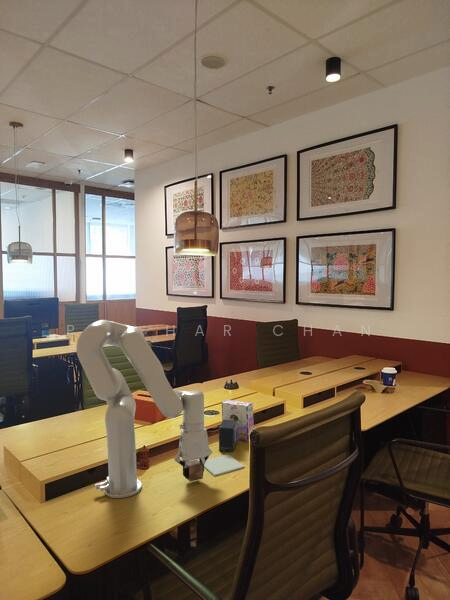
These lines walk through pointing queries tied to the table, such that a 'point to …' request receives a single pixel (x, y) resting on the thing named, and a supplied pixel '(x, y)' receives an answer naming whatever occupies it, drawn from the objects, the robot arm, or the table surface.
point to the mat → (222, 465)
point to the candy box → (239, 417)
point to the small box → (228, 435)
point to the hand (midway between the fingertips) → (193, 475)
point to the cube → (195, 470)
